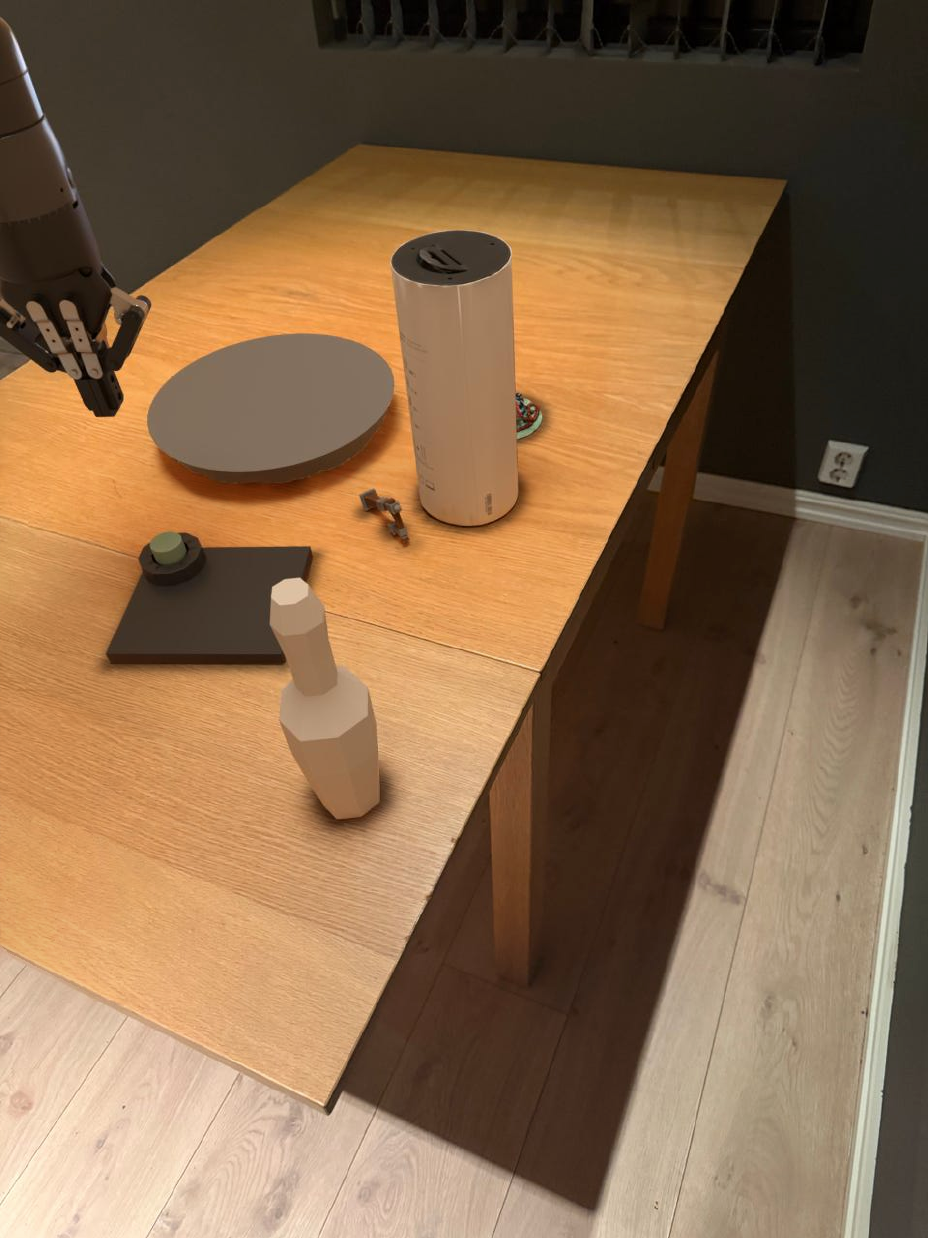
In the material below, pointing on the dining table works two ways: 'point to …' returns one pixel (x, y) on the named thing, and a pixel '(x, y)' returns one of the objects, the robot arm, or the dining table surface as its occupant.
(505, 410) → the speaker
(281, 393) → the flat disc
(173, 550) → the button
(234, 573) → the scale
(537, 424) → the painted miniature figurine
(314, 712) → the low poly bottle
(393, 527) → the jointed metal bracket
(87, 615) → the dining table surface
